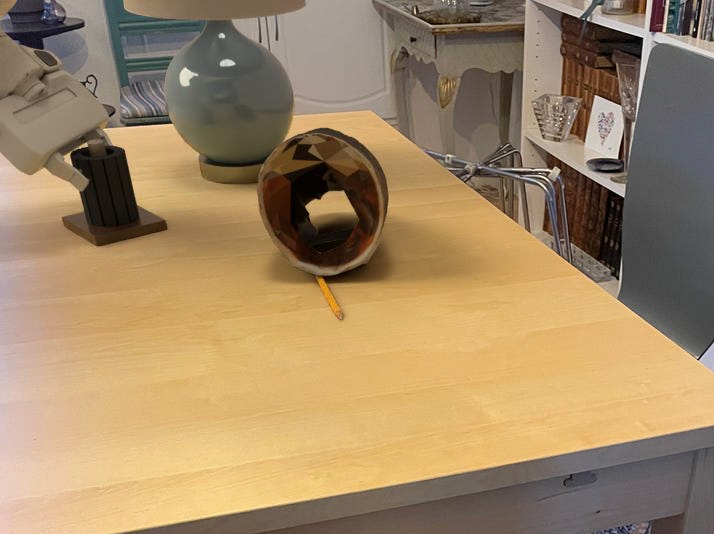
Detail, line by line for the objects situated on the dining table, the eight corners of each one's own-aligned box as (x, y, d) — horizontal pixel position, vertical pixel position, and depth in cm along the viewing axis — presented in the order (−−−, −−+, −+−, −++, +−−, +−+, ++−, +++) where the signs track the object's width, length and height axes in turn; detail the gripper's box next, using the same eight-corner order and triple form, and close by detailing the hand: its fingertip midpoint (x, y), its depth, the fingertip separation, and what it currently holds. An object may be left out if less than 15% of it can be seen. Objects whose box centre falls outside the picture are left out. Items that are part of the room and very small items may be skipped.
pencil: (321, 278, 113) (321, 272, 113) (345, 322, 104) (344, 316, 104) (314, 278, 113) (314, 272, 113) (338, 322, 104) (337, 316, 103)
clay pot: (383, 119, 125) (377, 122, 103) (399, 242, 133) (396, 269, 111) (272, 130, 125) (243, 136, 103) (294, 253, 133) (271, 283, 111)
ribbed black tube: (100, 229, 121) (84, 162, 116) (78, 216, 125) (61, 151, 119) (147, 218, 124) (133, 153, 119) (124, 206, 128) (109, 142, 123)
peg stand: (97, 246, 120) (74, 157, 113) (63, 226, 125) (40, 139, 118) (168, 229, 125) (150, 142, 118) (132, 210, 130) (114, 126, 123)
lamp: (331, 191, 138) (301, -154, 112) (157, 202, 133) (84, -155, 107) (312, 146, 155) (282, -161, 130) (158, 154, 151) (95, -163, 125)
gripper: (-28, 84, 106) (78, 181, 111) (58, 49, 121) (148, 136, 126) (-50, 126, 109) (54, 218, 114) (36, 86, 124) (124, 170, 130)
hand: (103, 175), depth 120 cm, fingers open, 8 cm apart
